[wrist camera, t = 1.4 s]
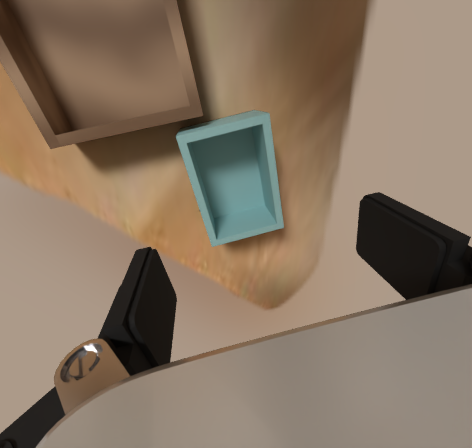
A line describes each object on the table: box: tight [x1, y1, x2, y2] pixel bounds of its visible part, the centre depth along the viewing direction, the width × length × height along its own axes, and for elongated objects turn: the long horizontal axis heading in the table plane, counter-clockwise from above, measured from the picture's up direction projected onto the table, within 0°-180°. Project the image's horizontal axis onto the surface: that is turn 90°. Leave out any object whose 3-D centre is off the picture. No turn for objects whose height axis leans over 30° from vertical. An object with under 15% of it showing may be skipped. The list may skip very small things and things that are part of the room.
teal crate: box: [176, 110, 284, 247], centre depth 21 cm, size 10×7×5 cm
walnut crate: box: [0, 0, 203, 149], centre depth 15 cm, size 15×12×4 cm
